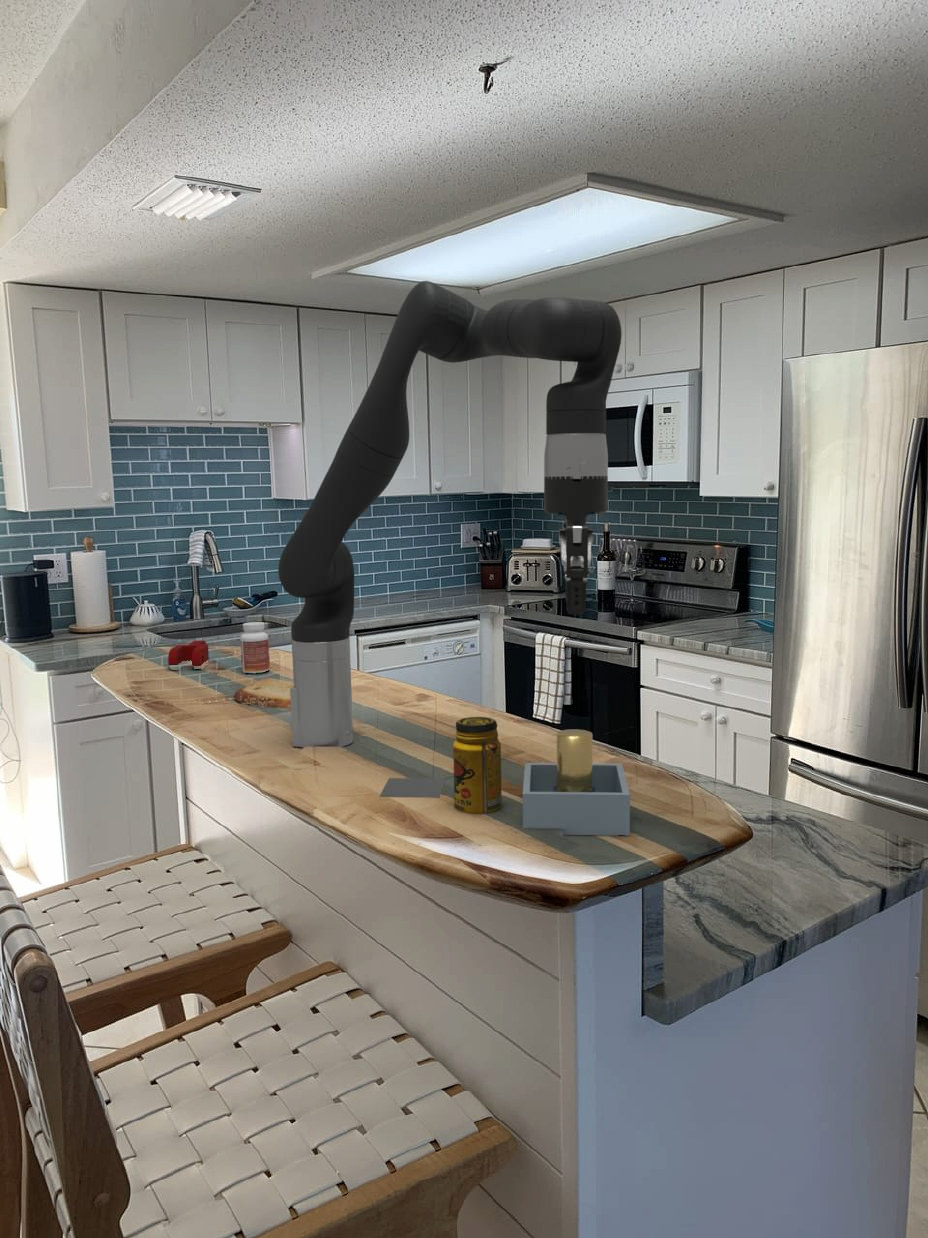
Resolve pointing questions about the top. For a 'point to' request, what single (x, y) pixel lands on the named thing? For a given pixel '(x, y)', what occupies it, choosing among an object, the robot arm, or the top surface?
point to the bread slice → (266, 693)
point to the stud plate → (413, 787)
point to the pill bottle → (254, 648)
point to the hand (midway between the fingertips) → (575, 608)
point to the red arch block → (189, 653)
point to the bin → (577, 802)
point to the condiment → (477, 766)
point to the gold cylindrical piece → (574, 761)
